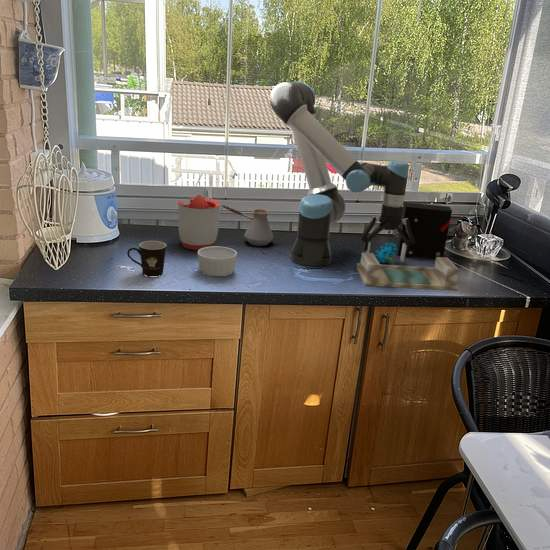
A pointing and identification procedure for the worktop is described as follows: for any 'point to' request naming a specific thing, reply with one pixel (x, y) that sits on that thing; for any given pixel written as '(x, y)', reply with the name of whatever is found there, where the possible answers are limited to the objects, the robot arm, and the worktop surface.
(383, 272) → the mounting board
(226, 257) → the ramekin
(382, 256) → the gear
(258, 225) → the coffee pot
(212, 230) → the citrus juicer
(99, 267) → the worktop surface
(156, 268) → the coffee mug
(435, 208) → the electrical component
